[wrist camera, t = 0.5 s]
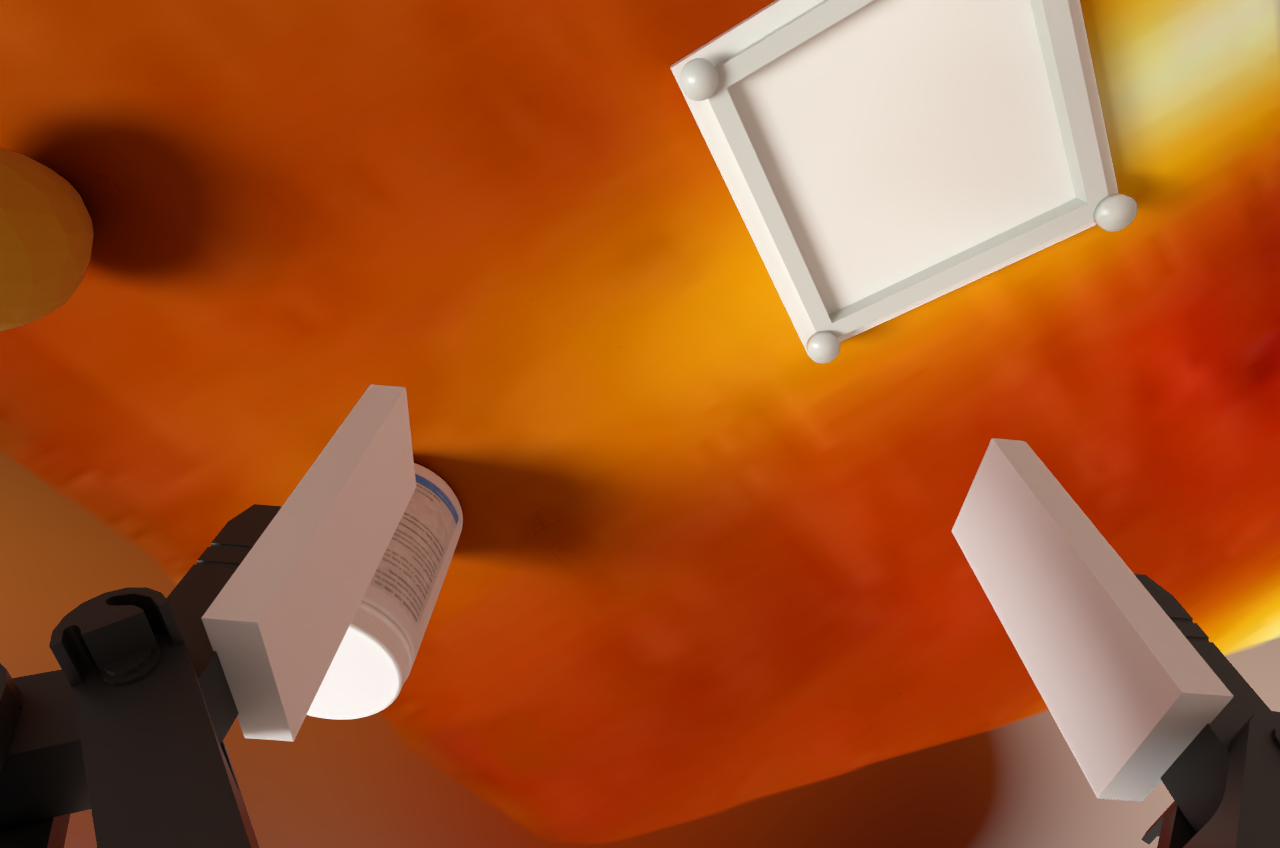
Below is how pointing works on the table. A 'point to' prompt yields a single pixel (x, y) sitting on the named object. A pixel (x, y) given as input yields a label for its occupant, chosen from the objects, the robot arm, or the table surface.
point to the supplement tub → (394, 606)
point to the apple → (39, 240)
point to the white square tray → (902, 147)
